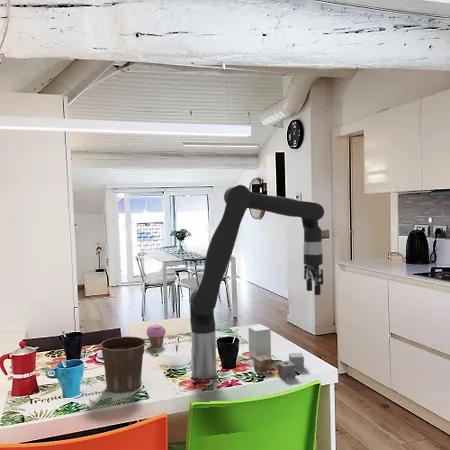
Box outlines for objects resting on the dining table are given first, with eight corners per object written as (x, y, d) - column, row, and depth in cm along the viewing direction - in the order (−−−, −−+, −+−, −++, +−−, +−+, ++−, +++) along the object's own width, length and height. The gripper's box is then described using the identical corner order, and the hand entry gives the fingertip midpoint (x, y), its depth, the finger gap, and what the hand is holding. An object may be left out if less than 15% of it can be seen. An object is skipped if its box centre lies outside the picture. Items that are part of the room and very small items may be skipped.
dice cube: (289, 373, 170) (289, 360, 170) (295, 378, 165) (295, 364, 165) (277, 375, 168) (277, 362, 168) (283, 379, 164) (282, 366, 163)
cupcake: (160, 349, 201) (159, 327, 201) (143, 347, 204) (143, 326, 204) (168, 343, 210) (168, 322, 209) (152, 342, 213) (151, 321, 212)
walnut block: (260, 373, 170) (260, 361, 170) (254, 369, 174) (253, 357, 174) (271, 371, 172) (271, 358, 172) (264, 367, 177) (264, 355, 176)
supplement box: (271, 358, 186) (271, 329, 186) (255, 361, 184) (255, 331, 183) (263, 353, 193) (263, 324, 193) (248, 355, 191) (247, 326, 190)
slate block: (291, 369, 173) (291, 357, 173) (289, 365, 178) (289, 353, 178) (303, 369, 173) (303, 357, 173) (301, 365, 178) (301, 352, 178)
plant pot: (150, 377, 168) (149, 335, 168) (142, 395, 152) (141, 349, 152) (108, 378, 168) (106, 336, 168) (95, 396, 152) (94, 350, 152)
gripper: (297, 251, 183) (298, 290, 183) (310, 255, 169) (311, 296, 169) (314, 250, 184) (315, 289, 185) (329, 254, 170) (329, 295, 171)
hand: (313, 292), depth 177 cm, fingers open, 8 cm apart
